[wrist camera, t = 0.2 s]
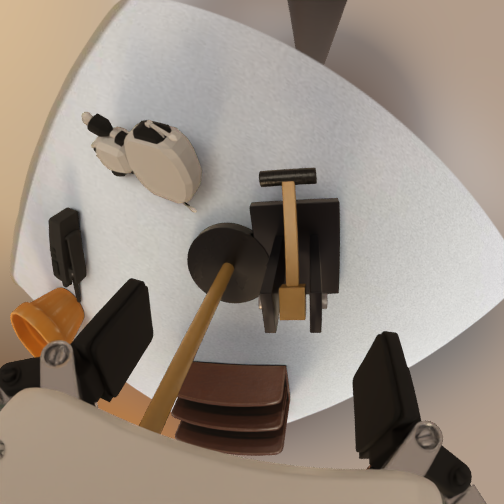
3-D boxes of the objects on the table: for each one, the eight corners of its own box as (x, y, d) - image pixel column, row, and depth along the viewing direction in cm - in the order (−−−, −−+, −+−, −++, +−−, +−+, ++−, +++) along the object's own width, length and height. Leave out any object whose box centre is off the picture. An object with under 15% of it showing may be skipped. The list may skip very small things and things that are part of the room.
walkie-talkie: (44, 226, 31) (63, 320, 42) (82, 221, 35) (92, 315, 46) (46, 207, 35) (60, 297, 46) (80, 203, 39) (87, 293, 49)
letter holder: (290, 396, 48) (282, 460, 36) (195, 389, 53) (173, 444, 40) (286, 364, 44) (276, 437, 32) (179, 358, 49) (150, 418, 36)
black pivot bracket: (251, 202, 33) (221, 251, 21) (337, 197, 30) (355, 247, 19) (263, 288, 38) (244, 359, 27) (337, 287, 36) (345, 360, 24)
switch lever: (262, 174, 26) (257, 168, 24) (315, 171, 25) (315, 164, 23) (267, 313, 26) (263, 320, 24) (321, 313, 25) (321, 319, 23)
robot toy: (123, 158, 35) (215, 189, 33) (105, 182, 34) (197, 219, 32) (93, 93, 24) (204, 112, 22) (67, 119, 22) (176, 146, 20)
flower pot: (105, 322, 49) (70, 367, 37) (78, 336, 54) (48, 373, 43) (61, 265, 44) (17, 303, 33) (40, 289, 50) (5, 322, 38)
